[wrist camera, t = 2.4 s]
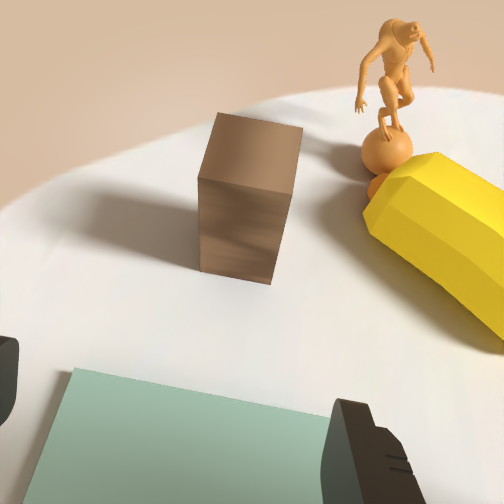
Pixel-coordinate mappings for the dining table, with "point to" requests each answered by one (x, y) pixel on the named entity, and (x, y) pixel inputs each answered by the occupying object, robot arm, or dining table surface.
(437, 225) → the yellow faceted bar
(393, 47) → the figurine
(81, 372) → the teal board
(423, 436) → the dining table surface
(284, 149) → the walnut block
